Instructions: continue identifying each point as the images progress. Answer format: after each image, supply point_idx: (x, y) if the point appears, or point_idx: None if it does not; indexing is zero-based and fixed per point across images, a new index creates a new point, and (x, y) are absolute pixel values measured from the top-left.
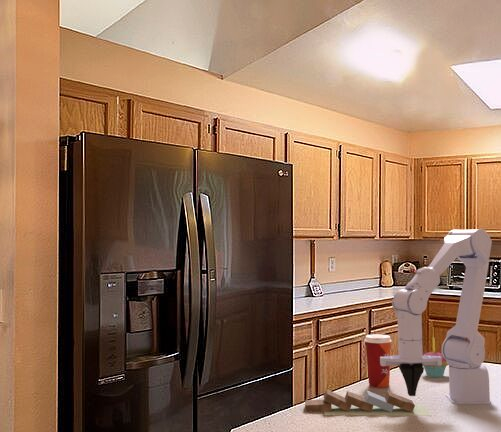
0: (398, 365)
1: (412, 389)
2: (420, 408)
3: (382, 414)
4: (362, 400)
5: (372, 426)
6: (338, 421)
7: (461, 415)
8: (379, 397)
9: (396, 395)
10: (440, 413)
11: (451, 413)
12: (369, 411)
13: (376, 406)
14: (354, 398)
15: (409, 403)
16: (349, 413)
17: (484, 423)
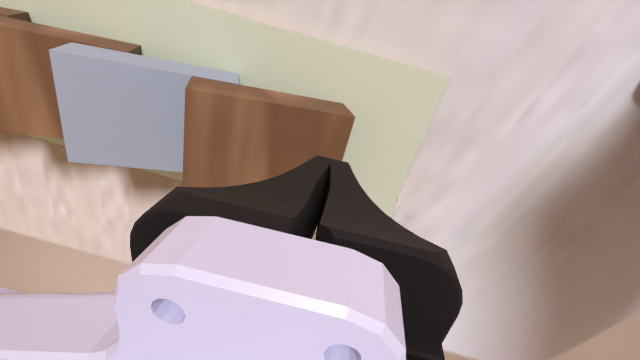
0: (140, 244)
1: (311, 237)
2: (390, 136)
3: None
4: (61, 129)
5: None
6: (29, 187)
7: (519, 253)
8: (148, 119)
9: (248, 127)
10: (449, 207)
11: (498, 220)
12: None
13: (177, 43)
14: (9, 132)
15: None
16: None
17: (524, 340)
